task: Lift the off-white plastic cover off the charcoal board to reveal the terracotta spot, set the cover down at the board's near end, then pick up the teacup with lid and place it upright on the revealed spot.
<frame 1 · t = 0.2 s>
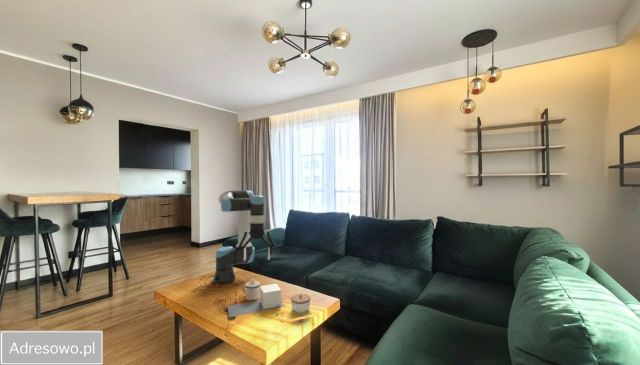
hand: (257, 259, 150), 27 cm above the table, fingers open, 13 cm apart
layout board: (256, 308, 149), on the table
lidded jar: (300, 311, 146), on the table
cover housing: (270, 303, 152), point 1 cm above the table, touching layout board
teacup with lid: (250, 298, 161), on the table
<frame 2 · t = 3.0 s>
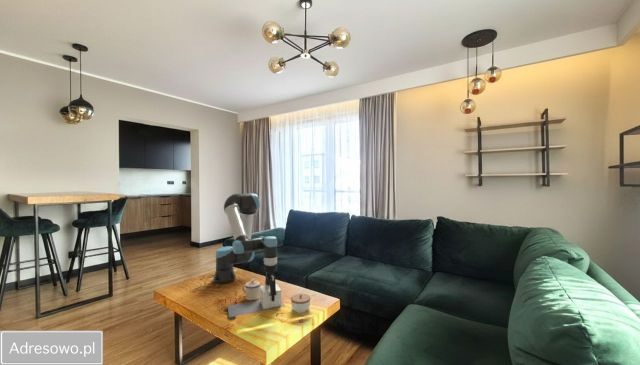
hand: (270, 302, 152), 2 cm above the table, fingers closed on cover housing, 10 cm apart
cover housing: (270, 303, 152), point 1 cm above the table, touching gripper, layout board
everything else where it was.
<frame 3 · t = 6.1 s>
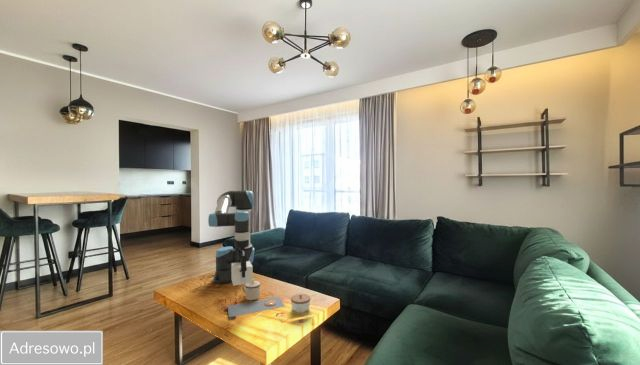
hand: (241, 279, 146), 18 cm above the table, fingers closed on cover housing, 10 cm apart
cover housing: (241, 280, 146), point 17 cm above the table, touching gripper
everything else where it was.
when the fingers open (4 cm above the table, at t = 9.4 s): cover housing drops 2 cm, resting on layout board.
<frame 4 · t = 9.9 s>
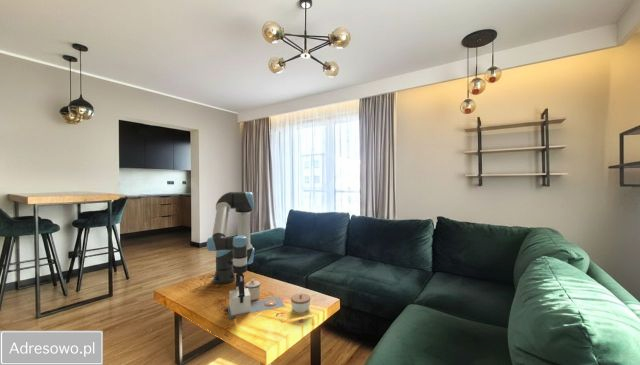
hand: (239, 302, 145), 5 cm above the table, fingers open, 13 cm apart
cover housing: (239, 309, 145), point 1 cm above the table, touching layout board
everything else where it was.
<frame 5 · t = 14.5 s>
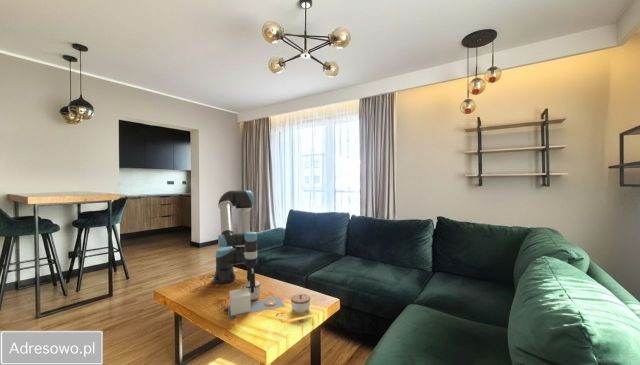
hand: (250, 294, 160), 3 cm above the table, fingers closed on teacup with lid, 9 cm apart
teacup with lid: (250, 298, 161), on the table, touching gripper
everything else where it was.
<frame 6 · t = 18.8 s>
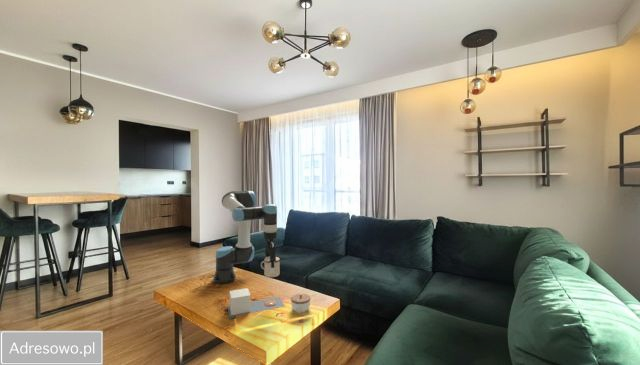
hand: (270, 270, 152), 21 cm above the table, fingers closed on teacup with lid, 9 cm apart
teacup with lid: (269, 274, 153), point 18 cm above the table, touching gripper
everything else where it was.
when the fingers open (5 cm above the table, at t = 23.1 s): teacup with lid stays where it is, resting on layout board.
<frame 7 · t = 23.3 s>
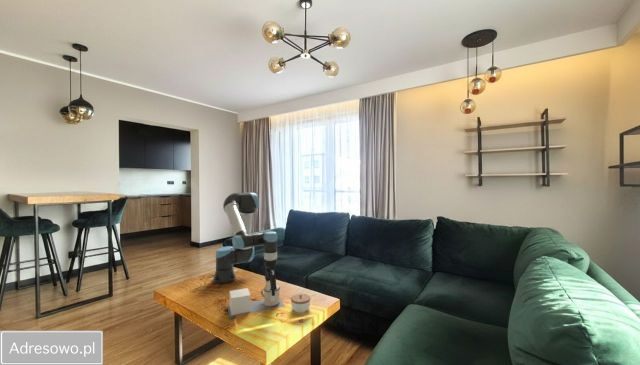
hand: (270, 296, 152), 5 cm above the table, fingers open, 11 cm apart
teacup with lid: (270, 302, 153), point 1 cm above the table, touching layout board
everything else where it was.
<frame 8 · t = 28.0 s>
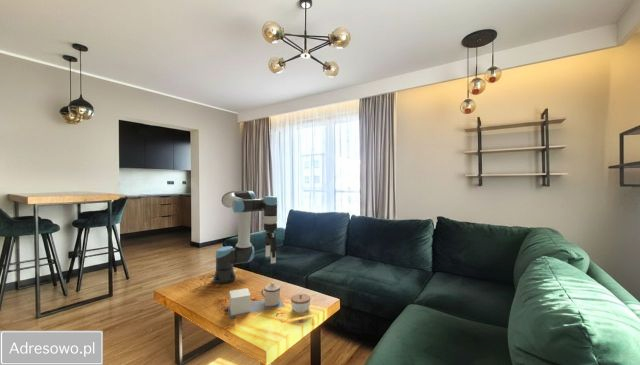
hand: (270, 259, 152), 27 cm above the table, fingers open, 13 cm apart
nothing on the table moved.
at the end: teacup with lid 1.0 cm from the target spot, point 1.3 cm above the table; teacup with lid tilted 1°; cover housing moved 17.0 cm from its start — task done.
